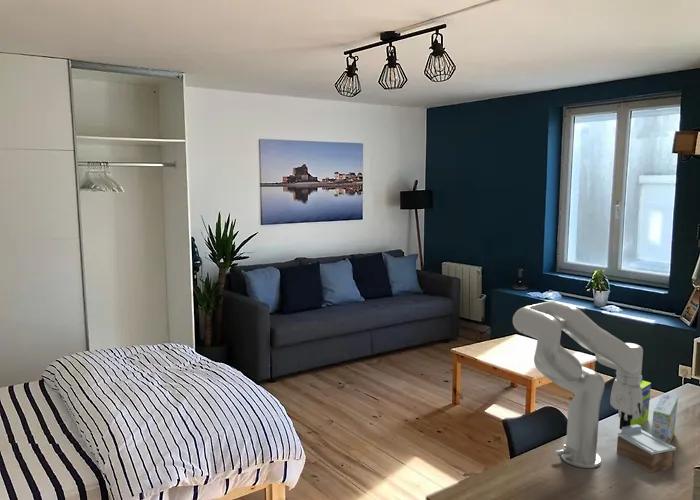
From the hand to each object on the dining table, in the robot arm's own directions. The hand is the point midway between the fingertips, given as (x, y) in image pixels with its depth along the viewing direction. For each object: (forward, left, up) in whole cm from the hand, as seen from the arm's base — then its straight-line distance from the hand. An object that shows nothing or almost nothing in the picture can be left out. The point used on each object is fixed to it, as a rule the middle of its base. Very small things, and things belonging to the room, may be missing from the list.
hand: (624, 429), depth 194 cm
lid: (0, -9, -1) cm, 9 cm away
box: (+22, +15, -7) cm, 27 cm away
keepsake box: (0, -9, -7) cm, 11 cm away
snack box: (+16, -1, -7) cm, 18 cm away
